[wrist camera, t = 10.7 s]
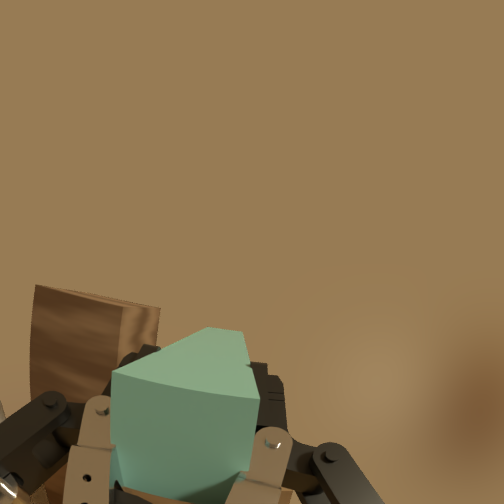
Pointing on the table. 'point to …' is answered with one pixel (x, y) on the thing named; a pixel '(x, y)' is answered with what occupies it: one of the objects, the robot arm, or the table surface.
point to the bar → (186, 417)
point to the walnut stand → (82, 347)
